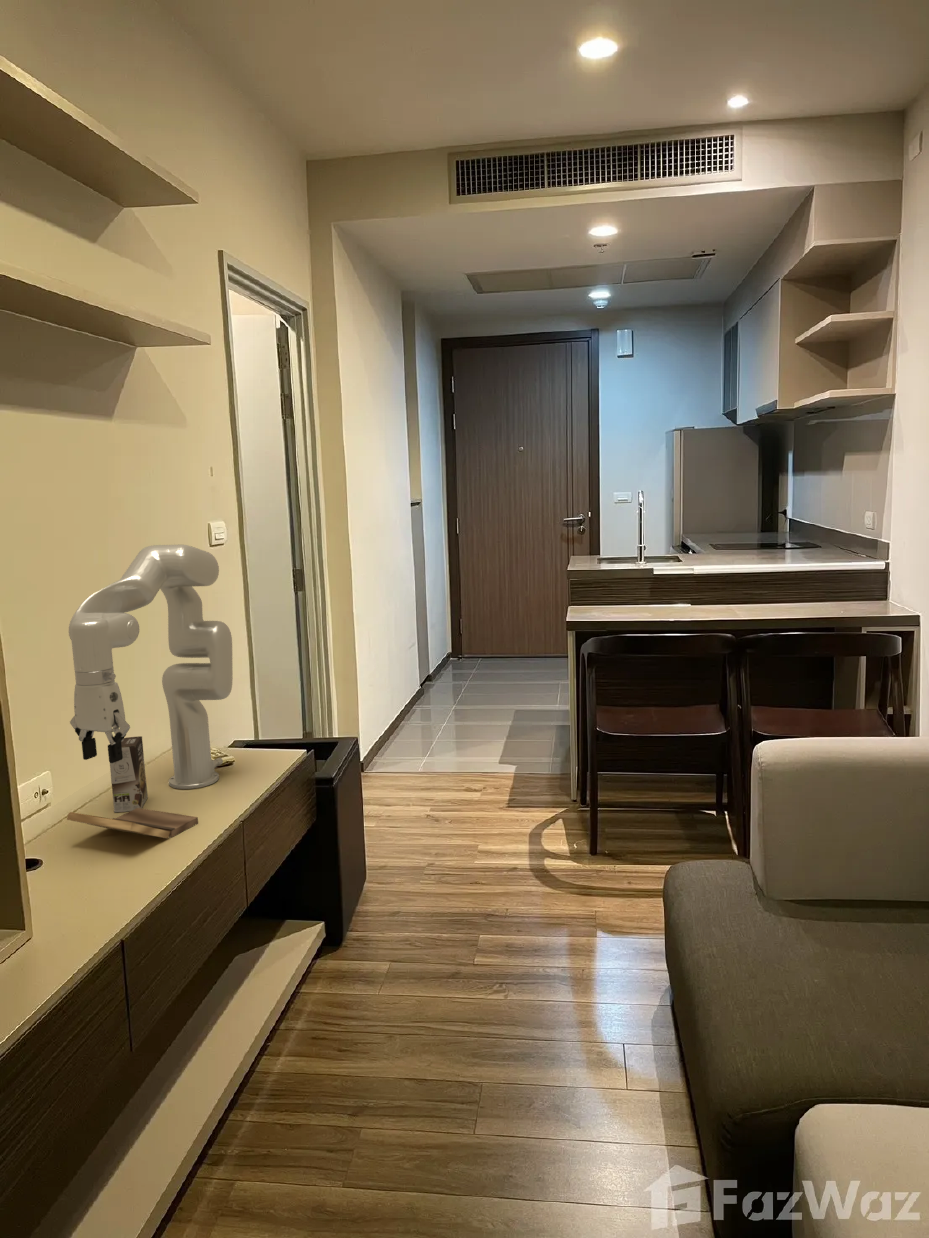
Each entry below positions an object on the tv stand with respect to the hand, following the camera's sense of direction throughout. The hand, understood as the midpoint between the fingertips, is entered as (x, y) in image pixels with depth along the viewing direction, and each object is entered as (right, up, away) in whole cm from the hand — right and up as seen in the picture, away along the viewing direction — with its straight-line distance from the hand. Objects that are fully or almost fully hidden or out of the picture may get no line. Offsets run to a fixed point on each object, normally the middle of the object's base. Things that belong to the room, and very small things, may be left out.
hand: (103, 758), depth 186 cm
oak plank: (+1, -16, +4) cm, 17 cm away
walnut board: (+6, -17, +14) cm, 23 cm away
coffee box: (-5, -16, +28) cm, 33 cm away
